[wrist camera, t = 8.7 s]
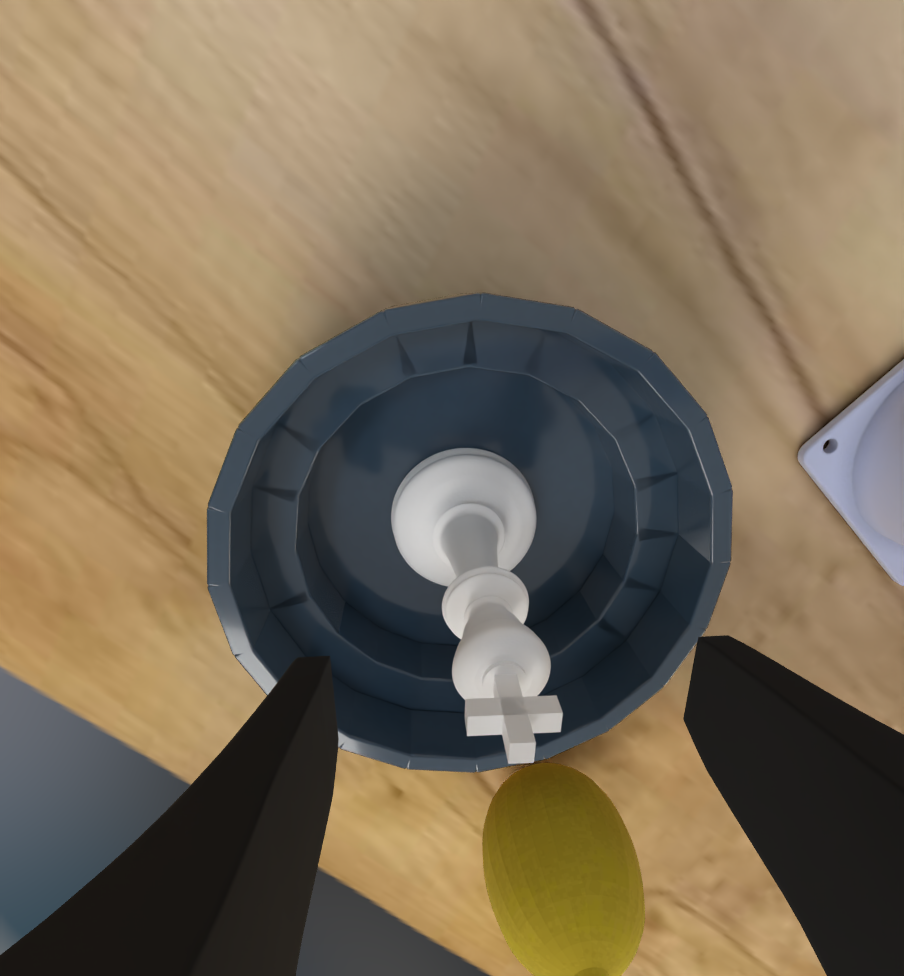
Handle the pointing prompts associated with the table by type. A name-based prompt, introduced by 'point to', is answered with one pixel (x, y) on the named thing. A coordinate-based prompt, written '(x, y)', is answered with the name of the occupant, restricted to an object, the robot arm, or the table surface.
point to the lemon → (562, 874)
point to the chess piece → (481, 587)
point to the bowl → (543, 570)
